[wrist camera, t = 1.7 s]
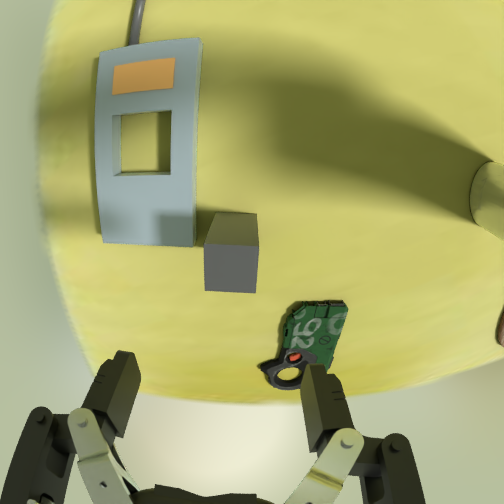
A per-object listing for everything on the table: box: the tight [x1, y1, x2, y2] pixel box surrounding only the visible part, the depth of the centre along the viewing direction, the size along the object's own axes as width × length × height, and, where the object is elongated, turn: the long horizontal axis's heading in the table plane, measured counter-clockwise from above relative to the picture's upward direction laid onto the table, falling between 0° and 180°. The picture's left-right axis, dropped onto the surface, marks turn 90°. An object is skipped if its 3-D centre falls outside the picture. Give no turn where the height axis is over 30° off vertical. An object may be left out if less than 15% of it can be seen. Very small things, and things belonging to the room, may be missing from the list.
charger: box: [204, 212, 259, 293], centre depth 24 cm, size 4×4×8 cm
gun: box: [261, 300, 348, 390], centre depth 35 cm, size 16×2×10 cm
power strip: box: [95, 0, 203, 247], centre depth 20 cm, size 10×33×2 cm, turn 177°
